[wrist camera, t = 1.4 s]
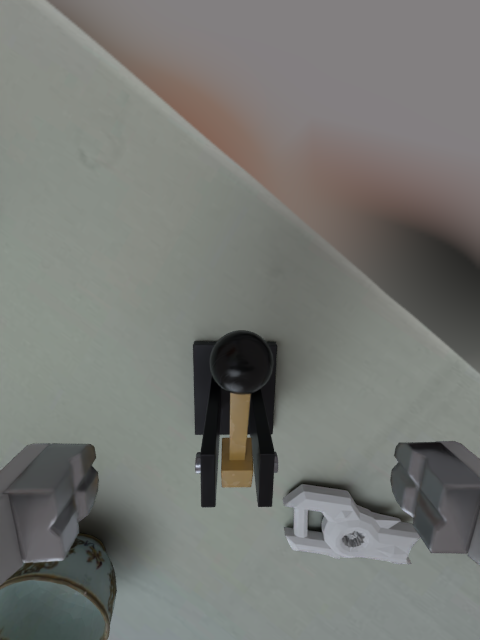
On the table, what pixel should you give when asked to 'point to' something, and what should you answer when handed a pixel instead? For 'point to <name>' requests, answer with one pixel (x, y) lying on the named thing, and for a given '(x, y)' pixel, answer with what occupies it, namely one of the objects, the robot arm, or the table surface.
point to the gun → (346, 527)
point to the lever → (240, 397)
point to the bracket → (216, 422)
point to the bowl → (61, 596)
